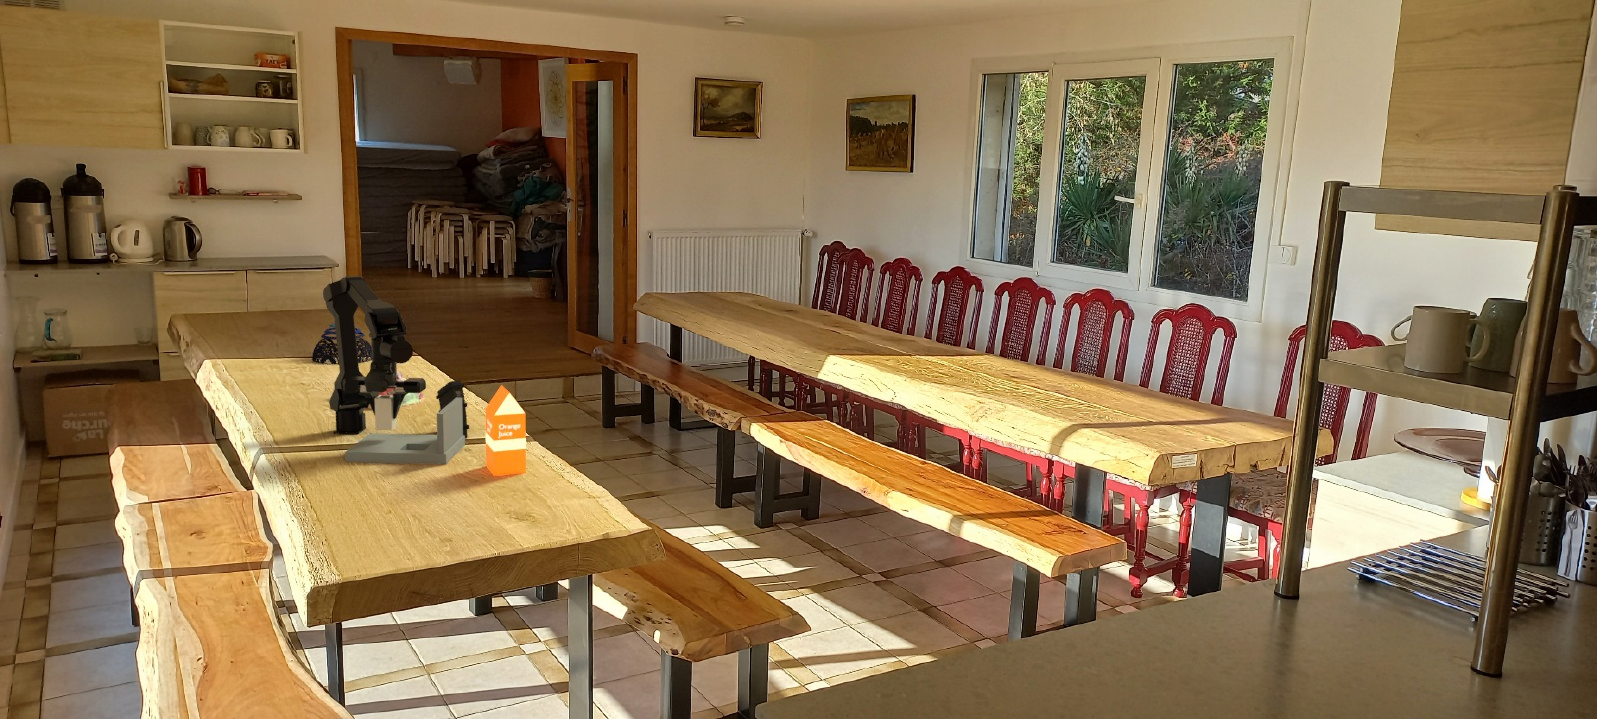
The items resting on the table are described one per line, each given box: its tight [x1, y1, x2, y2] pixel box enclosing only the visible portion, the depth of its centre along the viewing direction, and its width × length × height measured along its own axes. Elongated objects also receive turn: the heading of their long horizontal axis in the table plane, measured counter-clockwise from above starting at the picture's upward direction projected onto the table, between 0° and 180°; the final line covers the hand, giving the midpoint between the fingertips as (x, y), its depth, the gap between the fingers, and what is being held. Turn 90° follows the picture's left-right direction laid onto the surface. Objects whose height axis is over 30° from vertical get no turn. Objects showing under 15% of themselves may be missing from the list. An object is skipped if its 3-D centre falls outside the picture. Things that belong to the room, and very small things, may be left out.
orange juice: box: [484, 384, 527, 477], centre depth 265 cm, size 8×9×20 cm
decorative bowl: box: [311, 322, 372, 365], centre depth 390 cm, size 20×20×14 cm
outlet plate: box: [344, 398, 466, 465], centre depth 276 cm, size 24×18×12 cm
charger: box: [374, 395, 398, 431], centre depth 278 cm, size 4×4×8 cm
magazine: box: [435, 380, 470, 439], centre depth 296 cm, size 4×13×15 cm, turn 39°
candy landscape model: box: [362, 370, 425, 410], centre depth 333 cm, size 25×24×9 cm
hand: (386, 418), depth 278 cm, fingers closed on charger, 4 cm apart
